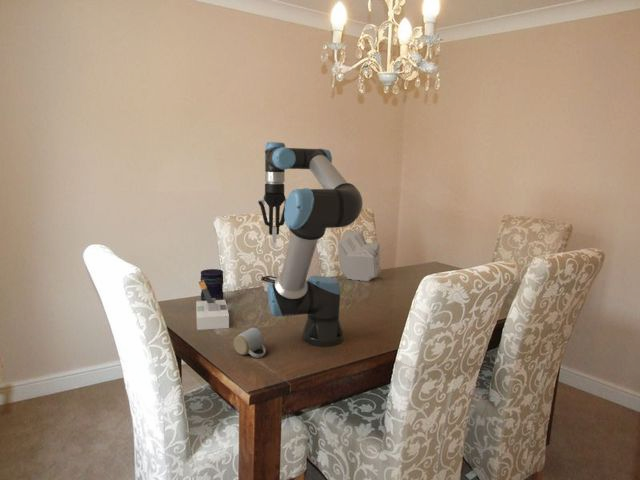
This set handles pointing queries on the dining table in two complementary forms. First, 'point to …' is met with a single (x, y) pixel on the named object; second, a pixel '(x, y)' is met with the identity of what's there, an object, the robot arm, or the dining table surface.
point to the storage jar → (213, 283)
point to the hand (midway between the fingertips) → (273, 242)
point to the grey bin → (268, 281)
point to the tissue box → (358, 257)
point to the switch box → (212, 315)
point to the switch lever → (205, 291)
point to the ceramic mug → (249, 342)
